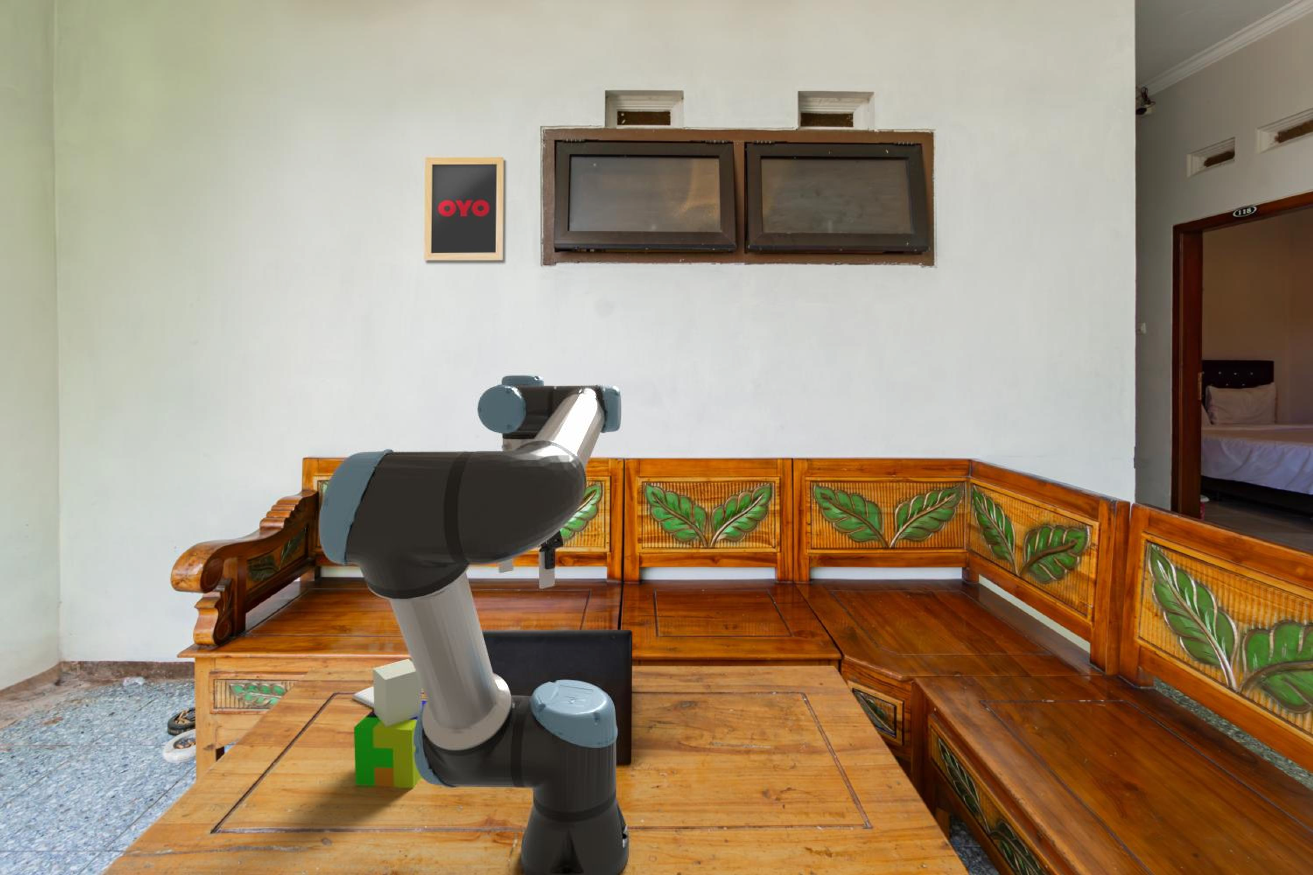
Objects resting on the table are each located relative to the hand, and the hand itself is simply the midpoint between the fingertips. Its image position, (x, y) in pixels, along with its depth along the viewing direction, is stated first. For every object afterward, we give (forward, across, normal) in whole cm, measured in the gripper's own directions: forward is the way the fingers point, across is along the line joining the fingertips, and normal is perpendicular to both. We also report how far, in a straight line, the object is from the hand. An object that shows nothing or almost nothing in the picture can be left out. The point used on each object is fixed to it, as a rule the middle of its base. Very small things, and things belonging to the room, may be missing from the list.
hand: (525, 578), depth 115 cm
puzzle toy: (+32, -10, -20) cm, 39 cm away
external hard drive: (+32, -38, -11) cm, 51 cm away
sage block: (+22, -10, -20) cm, 31 cm away
